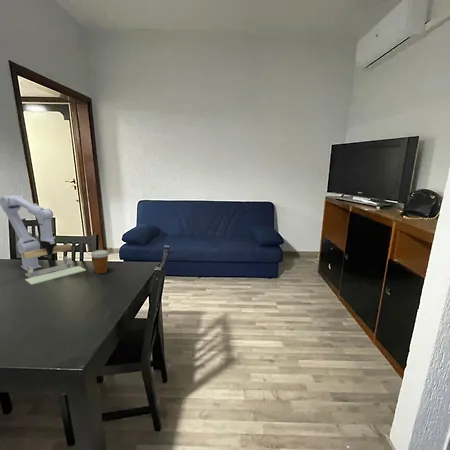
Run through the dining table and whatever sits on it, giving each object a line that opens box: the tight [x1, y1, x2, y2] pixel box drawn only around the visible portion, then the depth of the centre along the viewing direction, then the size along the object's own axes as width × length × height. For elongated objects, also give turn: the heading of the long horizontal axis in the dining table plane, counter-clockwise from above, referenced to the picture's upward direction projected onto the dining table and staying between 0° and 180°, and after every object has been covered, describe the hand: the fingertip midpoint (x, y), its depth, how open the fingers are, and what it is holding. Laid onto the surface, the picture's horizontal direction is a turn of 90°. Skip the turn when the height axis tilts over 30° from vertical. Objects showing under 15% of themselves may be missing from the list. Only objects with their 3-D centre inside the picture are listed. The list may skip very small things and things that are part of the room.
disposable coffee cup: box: [90, 249, 110, 275], centre depth 165 cm, size 10×10×12 cm
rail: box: [23, 243, 73, 259], centre depth 162 cm, size 3×24×3 cm, turn 141°
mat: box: [24, 265, 87, 286], centre depth 159 cm, size 9×28×1 cm, turn 141°
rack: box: [24, 255, 74, 278], centre depth 164 cm, size 7×23×6 cm, turn 141°
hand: (48, 253), depth 163 cm, fingers closed on rail, 3 cm apart
